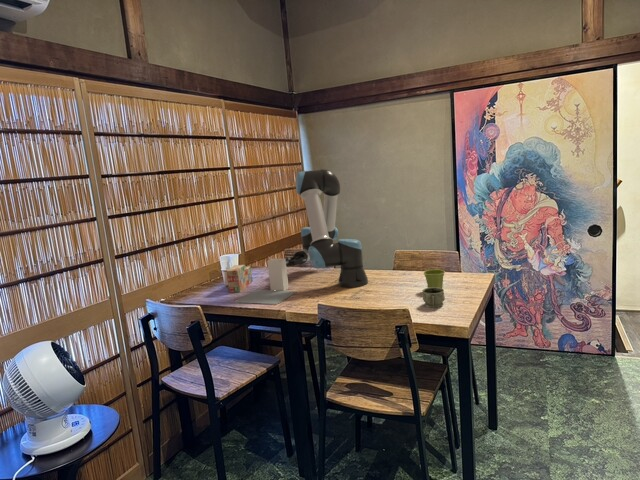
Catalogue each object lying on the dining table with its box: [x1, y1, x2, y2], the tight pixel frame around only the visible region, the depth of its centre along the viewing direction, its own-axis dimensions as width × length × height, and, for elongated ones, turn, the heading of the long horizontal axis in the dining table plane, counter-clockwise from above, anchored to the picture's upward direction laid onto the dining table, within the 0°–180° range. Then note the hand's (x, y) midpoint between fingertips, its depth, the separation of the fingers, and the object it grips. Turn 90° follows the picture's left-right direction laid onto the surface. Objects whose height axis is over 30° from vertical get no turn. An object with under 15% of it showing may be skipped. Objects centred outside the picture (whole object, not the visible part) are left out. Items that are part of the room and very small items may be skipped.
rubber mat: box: [233, 289, 298, 305], centre depth 213 cm, size 24×20×1 cm
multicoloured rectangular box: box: [226, 264, 254, 293], centre depth 238 cm, size 21×6×12 cm, turn 171°
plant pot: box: [423, 268, 446, 289], centre depth 196 cm, size 9×9×9 cm
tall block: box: [267, 258, 290, 291], centre depth 224 cm, size 8×5×16 cm, turn 65°
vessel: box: [422, 287, 446, 309], centre depth 177 cm, size 12×9×6 cm
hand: (281, 266), depth 228 cm, fingers closed
